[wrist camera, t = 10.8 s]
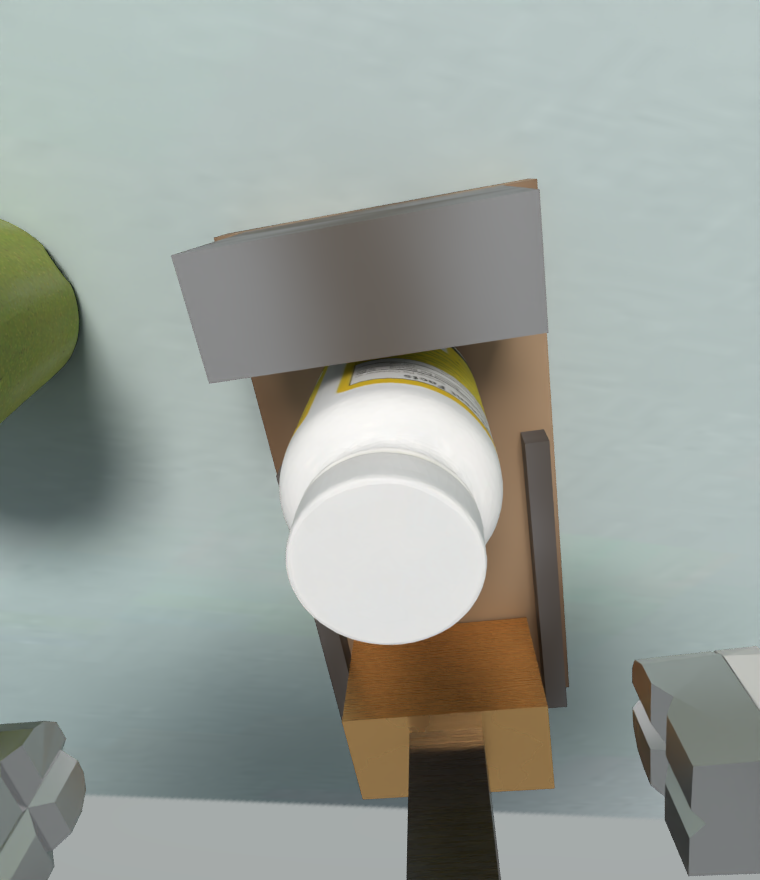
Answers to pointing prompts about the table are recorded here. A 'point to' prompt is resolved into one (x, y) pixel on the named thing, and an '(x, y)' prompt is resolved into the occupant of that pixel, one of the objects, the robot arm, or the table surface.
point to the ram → (450, 737)
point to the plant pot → (31, 318)
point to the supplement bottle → (391, 497)
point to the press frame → (403, 332)
